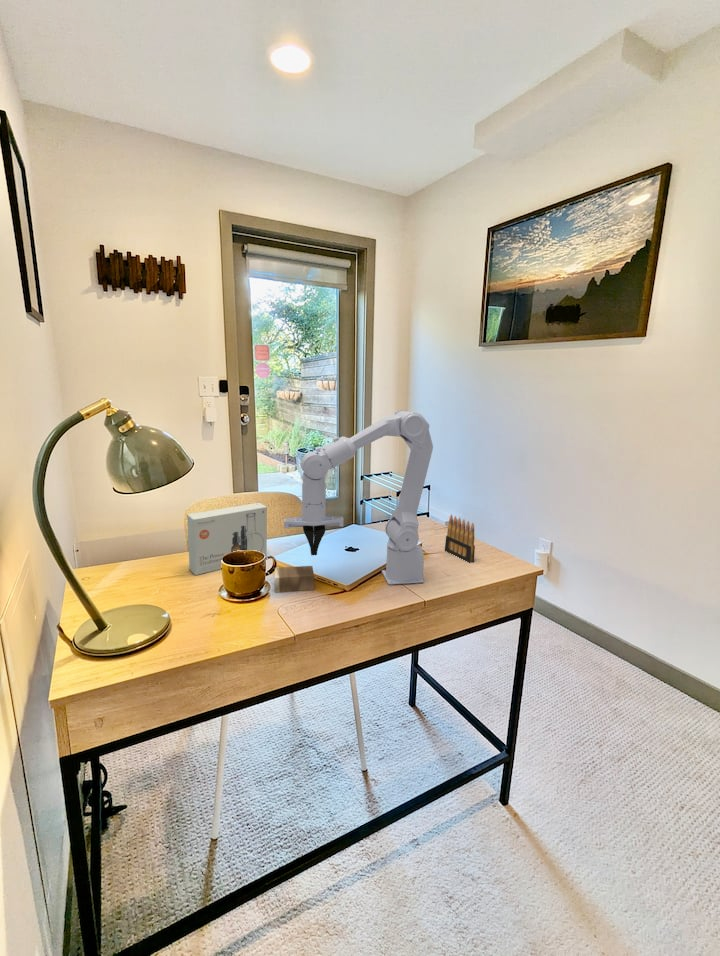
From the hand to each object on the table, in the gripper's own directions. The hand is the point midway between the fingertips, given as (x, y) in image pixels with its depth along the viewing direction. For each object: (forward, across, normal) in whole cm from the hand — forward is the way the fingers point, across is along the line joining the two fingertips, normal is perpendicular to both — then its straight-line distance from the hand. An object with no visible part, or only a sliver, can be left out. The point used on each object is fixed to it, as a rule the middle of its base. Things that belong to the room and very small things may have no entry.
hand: (313, 553), depth 111 cm
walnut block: (+6, 0, 0) cm, 7 cm away
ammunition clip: (+9, -45, -13) cm, 48 cm away
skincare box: (+9, +22, -16) cm, 29 cm away
